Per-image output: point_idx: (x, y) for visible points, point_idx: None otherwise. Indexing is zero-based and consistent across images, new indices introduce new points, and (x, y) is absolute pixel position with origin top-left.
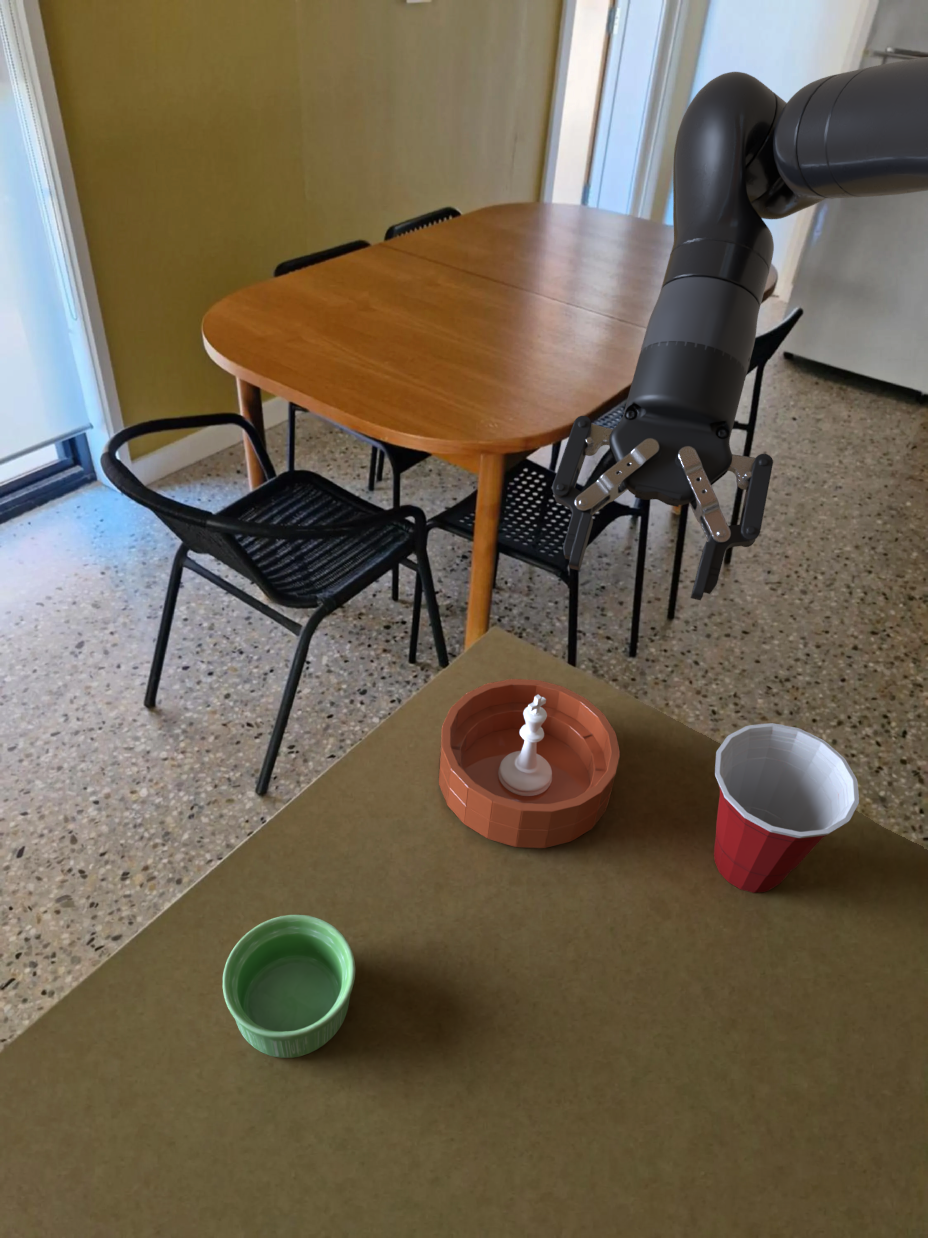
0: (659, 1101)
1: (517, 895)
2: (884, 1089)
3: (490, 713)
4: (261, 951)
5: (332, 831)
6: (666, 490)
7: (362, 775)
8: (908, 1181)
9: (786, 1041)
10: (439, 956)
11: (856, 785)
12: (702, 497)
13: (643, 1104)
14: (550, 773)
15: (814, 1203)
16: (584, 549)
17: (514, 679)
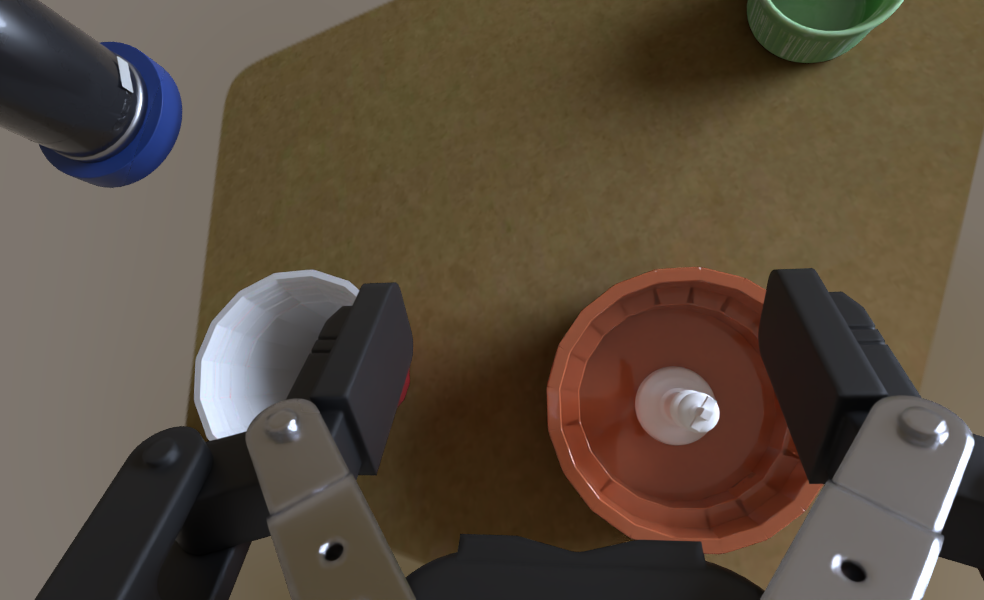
0: (432, 78)
1: (623, 227)
2: (243, 172)
3: (770, 478)
4: (878, 4)
5: (889, 220)
6: (536, 566)
7: (901, 323)
8: (231, 104)
9: (325, 180)
10: (681, 121)
11: (196, 389)
12: (342, 518)
13: (445, 70)
14: (640, 412)
15: (303, 56)
16: (781, 359)
17: (762, 538)
